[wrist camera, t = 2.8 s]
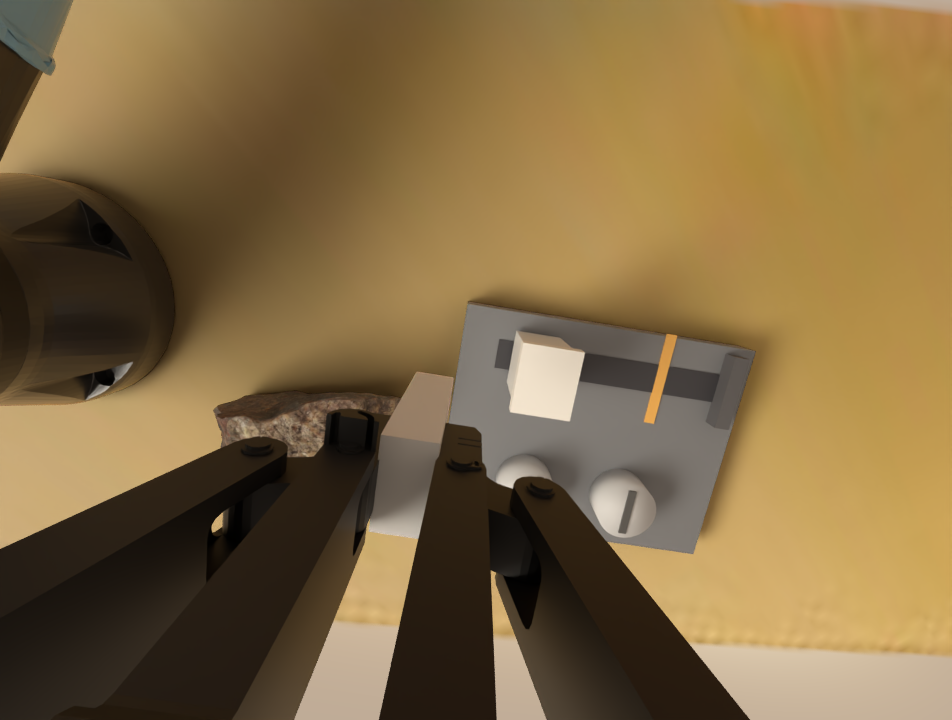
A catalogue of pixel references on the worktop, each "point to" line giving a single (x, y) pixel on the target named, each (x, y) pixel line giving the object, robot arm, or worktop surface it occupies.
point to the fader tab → (543, 376)
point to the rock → (292, 417)
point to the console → (609, 421)
